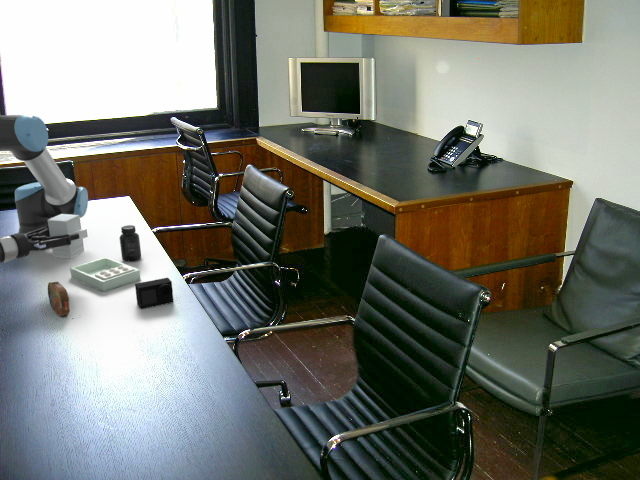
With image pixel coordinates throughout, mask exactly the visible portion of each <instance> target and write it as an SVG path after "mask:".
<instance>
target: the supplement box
mask: <svg viewBox="0 0 640 480" xmlns="http://www.w3.org/2000/svg"><path fill="white" fill-rule="evenodd" d="M48 226H49V232H50V237H52V236H60V235H67V233H71V232H75V231H79V230H82V224H81V218H80V216H79V215H70V214H60V215H58V216H55V217H53V218H51V219H49V220H48ZM83 239H84V238H83ZM83 239H79V240H75V241H71V245H65V246H60V247H55V248H51V250H52V256H53V257H54V258H64V259H73V258H74V257H77V256H79V255H80V254H83V253H84V252H85V246H84V240H83Z"/></svg>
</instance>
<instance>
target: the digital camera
mask: <svg viewBox="0 0 640 480" xmlns="http://www.w3.org/2000/svg"><path fill="white" fill-rule="evenodd" d="M134 287H135V296H136V304H137V306H138V307H139V309H140V308H141V309H140V310H143V309H147V308H151V307H152V306H153V307H158V306H161V304H163V305H167V303H168V304H172V303H174V294H173V291H174V290H173V289H174V288H173V282H172V280H171V279H170V278H169V277H163V278H158V279H154V280H148V281H142V282H138V283H135V284H134ZM171 302H172V303H171ZM157 305H158V306H157ZM153 307H152V308H153Z"/></svg>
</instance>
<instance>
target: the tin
mask: <svg viewBox="0 0 640 480" xmlns="http://www.w3.org/2000/svg"><path fill="white" fill-rule="evenodd" d="M47 284H48V285H47V296H48V297H47V298H48V302H49V305H50V307H51V309H52V310H53V311H54V312H55V314H56V315H57V316H58V317H64V316H68V315H70V302H69V300H70V298H69V294H68V291H67V289H66V288H65V287H64V285H63V284H62V283H60V282H59V281H53V282H52V281H51V282H48V283H47Z"/></svg>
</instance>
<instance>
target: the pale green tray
mask: <svg viewBox="0 0 640 480" xmlns="http://www.w3.org/2000/svg"><path fill="white" fill-rule="evenodd" d="M120 265H125V266H127V267H130V268H133V269H134V271H132V272H128V273H125V274H122V275H119V276H116V277H113V278H110V279H107V280H104V281H103V280H101V279H99V278H96V277H95V274H97V273H100V272H102V271H106V270H109V269H111V268H116V267H118V266H120ZM69 270H70V277H71V279H74V280H76V281H78V282H80V283H83V284H85V285H87V286H90V287H91V288H94V289H96V290H98V291H101V292H103V293H105V292H109V291H112V290H113V289H114V290H115V289H117V288H120V287H123V286H126V285H130V284H133V283H135V282H138V281H141V280H142V279H141V278H142V277H141V271H140V269H138V268H136V267H133V266H130V265H129V264H126V263H123V262H121V261H117V260H115V259H112V258H110V257H105V256H104V257H102V258H98V259H95V260H92V261H88V262H85V263H82V264H78V265H76V266H72V267H70V268H69Z"/></svg>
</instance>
